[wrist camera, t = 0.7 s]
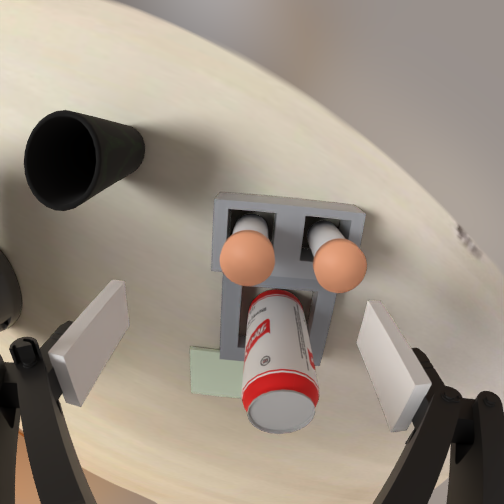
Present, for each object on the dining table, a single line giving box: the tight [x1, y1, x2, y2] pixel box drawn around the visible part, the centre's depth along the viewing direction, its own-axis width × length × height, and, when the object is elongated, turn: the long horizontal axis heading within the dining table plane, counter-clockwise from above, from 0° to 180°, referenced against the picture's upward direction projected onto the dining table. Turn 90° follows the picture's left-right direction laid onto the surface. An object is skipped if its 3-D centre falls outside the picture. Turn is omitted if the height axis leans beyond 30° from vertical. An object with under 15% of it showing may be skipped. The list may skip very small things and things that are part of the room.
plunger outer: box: [307, 220, 367, 293], centre depth 27 cm, size 4×4×8 cm
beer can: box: [241, 289, 319, 434], centre depth 29 cm, size 6×6×16 cm
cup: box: [24, 110, 145, 211], centre depth 26 cm, size 8×8×12 cm
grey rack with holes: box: [211, 192, 366, 366], centre depth 34 cm, size 14×19×4 cm
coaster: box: [190, 346, 244, 398], centre depth 40 cm, size 8×8×1 cm
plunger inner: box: [220, 213, 275, 286], centre depth 27 cm, size 4×4×8 cm
